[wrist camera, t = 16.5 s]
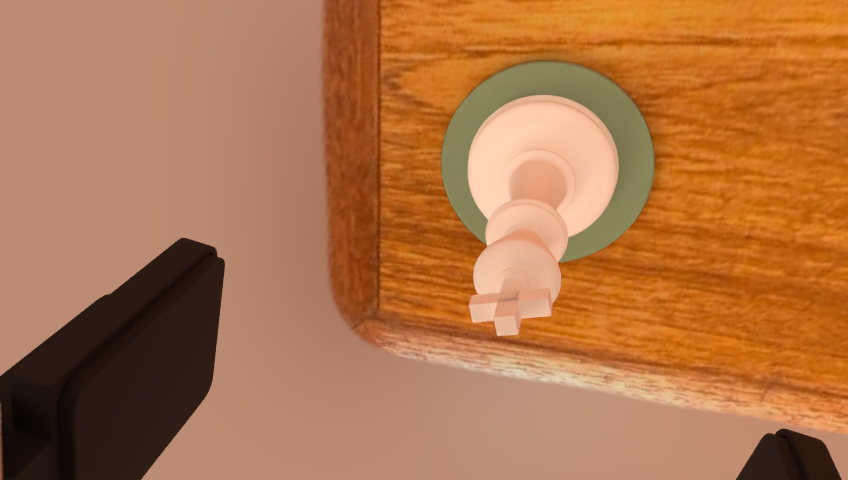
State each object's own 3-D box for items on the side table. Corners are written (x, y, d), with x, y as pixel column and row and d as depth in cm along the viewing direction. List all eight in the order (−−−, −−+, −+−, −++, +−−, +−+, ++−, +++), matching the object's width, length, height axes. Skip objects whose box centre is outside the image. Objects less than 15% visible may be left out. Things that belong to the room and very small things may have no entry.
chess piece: (627, 226, 23) (646, 419, 14) (483, 243, 24) (418, 428, 15) (608, 81, 21) (616, 196, 12) (454, 109, 22) (361, 229, 14)
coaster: (423, 224, 25) (420, 228, 25) (472, 33, 22) (470, 35, 21) (609, 283, 24) (609, 288, 24) (688, 95, 21) (690, 98, 21)
